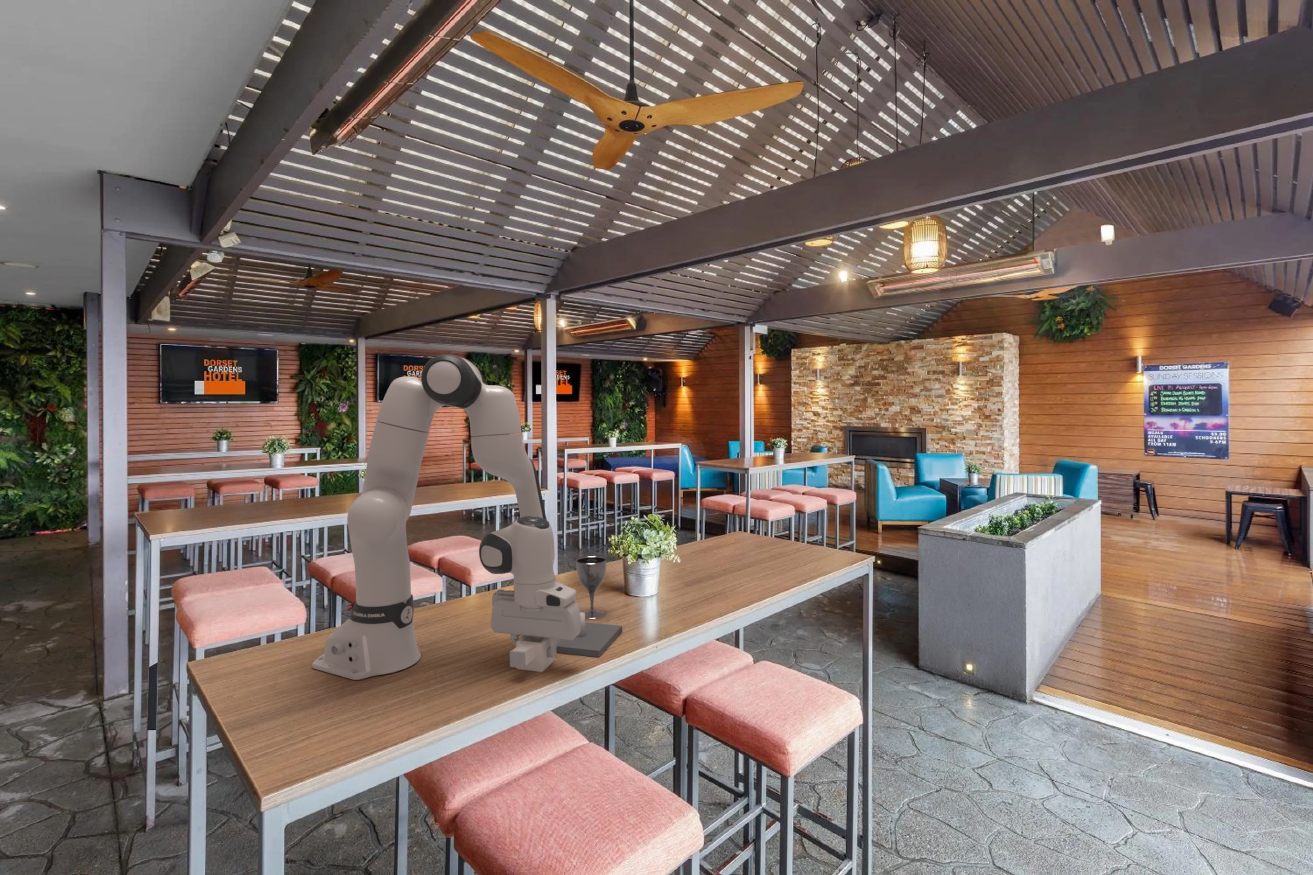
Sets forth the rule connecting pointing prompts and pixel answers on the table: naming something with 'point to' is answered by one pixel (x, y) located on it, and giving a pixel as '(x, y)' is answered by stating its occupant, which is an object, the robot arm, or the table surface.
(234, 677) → the table surface
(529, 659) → the elbow
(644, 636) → the table surface
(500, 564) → the robot arm
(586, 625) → the base
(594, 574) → the wine glass
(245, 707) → the table surface
